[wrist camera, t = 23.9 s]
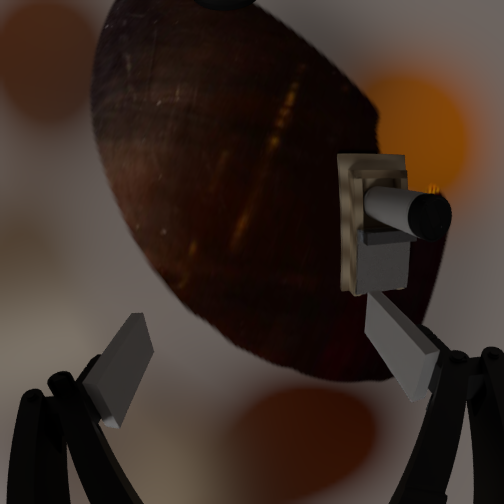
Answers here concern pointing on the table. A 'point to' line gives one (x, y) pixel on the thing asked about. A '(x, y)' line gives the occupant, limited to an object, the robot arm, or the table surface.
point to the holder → (351, 201)
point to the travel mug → (409, 211)
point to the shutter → (382, 259)
